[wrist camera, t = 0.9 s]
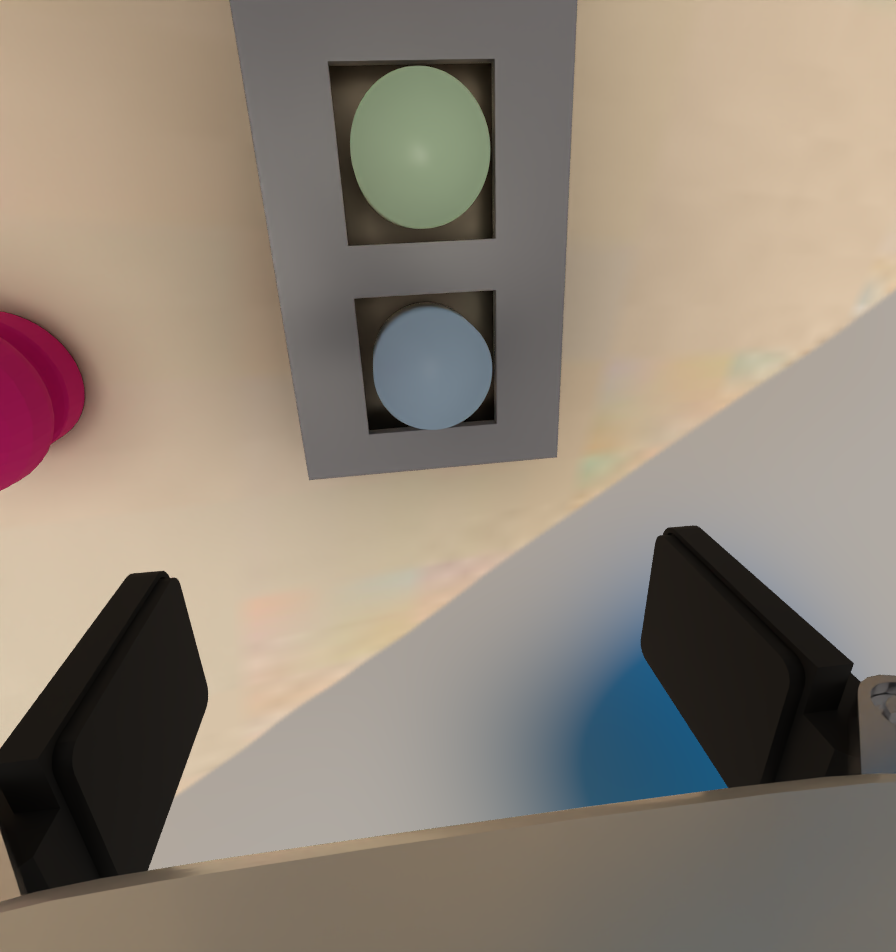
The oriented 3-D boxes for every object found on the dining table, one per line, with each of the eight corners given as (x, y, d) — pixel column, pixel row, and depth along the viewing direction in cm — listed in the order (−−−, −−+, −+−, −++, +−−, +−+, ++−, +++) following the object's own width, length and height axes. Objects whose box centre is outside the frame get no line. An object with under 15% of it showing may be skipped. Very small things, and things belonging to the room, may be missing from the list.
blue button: (367, 305, 24) (367, 315, 21) (478, 298, 25) (491, 307, 22) (378, 413, 26) (379, 434, 23) (480, 405, 27) (492, 425, 24)
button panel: (196, -295, 17) (164, -393, 15) (560, -278, 18) (593, -366, 16) (315, 456, 28) (309, 480, 25) (539, 436, 29) (557, 457, 27)
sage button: (345, 88, 21) (341, 66, 18) (474, 85, 21) (489, 64, 18) (359, 231, 23) (358, 231, 20) (477, 226, 23) (491, 225, 21)
